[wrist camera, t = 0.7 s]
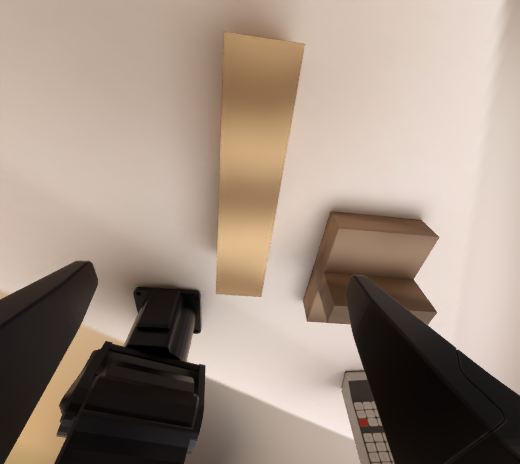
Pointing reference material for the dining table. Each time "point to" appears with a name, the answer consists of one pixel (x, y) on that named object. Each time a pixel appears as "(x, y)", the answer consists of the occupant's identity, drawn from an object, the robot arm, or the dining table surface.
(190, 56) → the dining table surface
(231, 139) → the light wooden block
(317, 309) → the ridge stand
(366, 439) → the vintage mobile phone
